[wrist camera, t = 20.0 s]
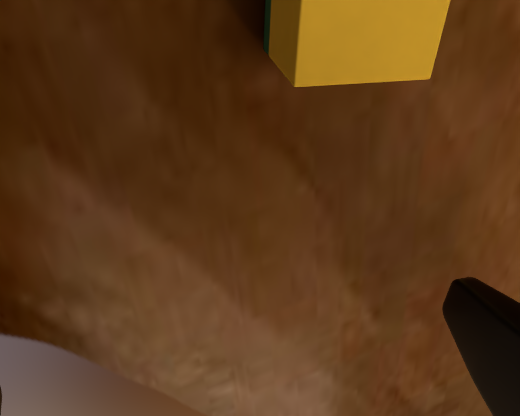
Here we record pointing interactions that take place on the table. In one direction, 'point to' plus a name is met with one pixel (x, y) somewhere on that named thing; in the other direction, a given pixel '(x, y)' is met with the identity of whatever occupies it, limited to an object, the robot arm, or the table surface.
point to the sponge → (353, 39)
